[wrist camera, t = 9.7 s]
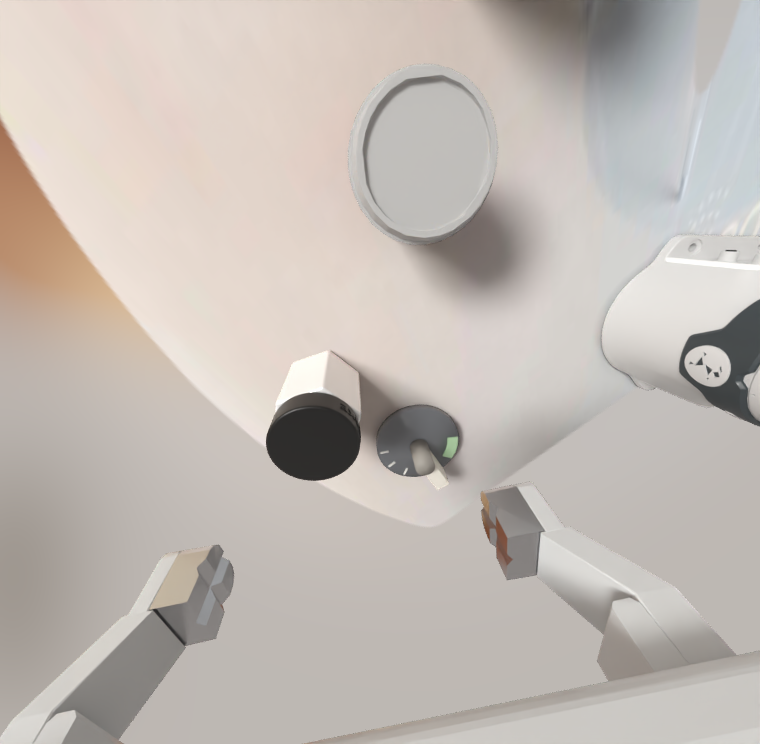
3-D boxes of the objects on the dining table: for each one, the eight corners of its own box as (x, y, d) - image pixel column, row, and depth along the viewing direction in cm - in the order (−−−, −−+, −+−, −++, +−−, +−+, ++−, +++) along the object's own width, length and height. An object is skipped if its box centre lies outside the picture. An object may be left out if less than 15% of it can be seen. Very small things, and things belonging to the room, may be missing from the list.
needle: (406, 445, 41) (411, 466, 37) (422, 436, 40) (429, 456, 37) (430, 475, 43) (437, 497, 40) (445, 466, 43) (453, 489, 39)
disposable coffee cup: (377, 256, 32) (392, 272, 21) (329, 157, 28) (316, 113, 17) (462, 208, 31) (524, 199, 20) (424, 97, 27) (475, 10, 16)
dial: (453, 397, 40) (456, 402, 39) (458, 462, 45) (461, 468, 43) (369, 413, 40) (370, 419, 39) (383, 477, 45) (384, 484, 43)
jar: (351, 418, 40) (351, 488, 29) (286, 410, 39) (262, 481, 28) (363, 355, 36) (369, 409, 26) (293, 343, 35) (268, 395, 24)
